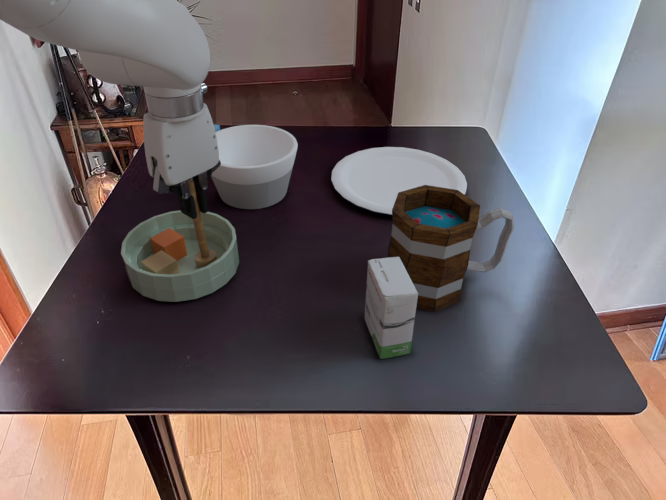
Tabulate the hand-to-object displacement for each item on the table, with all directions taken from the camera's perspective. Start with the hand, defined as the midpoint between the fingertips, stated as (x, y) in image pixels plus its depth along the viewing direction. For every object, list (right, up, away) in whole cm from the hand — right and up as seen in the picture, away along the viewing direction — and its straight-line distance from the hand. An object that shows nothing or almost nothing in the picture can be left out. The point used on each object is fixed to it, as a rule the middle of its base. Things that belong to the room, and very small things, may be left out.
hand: (194, 212), depth 82 cm
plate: (+36, +8, +30) cm, 48 cm away
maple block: (-6, -11, +2) cm, 13 cm away
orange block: (-6, -7, +7) cm, 12 cm away
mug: (+40, -12, +4) cm, 42 cm away
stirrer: (+1, -8, +5) cm, 10 cm away
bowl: (+5, +6, +26) cm, 28 cm away
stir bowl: (-3, -9, +6) cm, 11 cm away
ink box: (+30, -19, -5) cm, 36 cm away
